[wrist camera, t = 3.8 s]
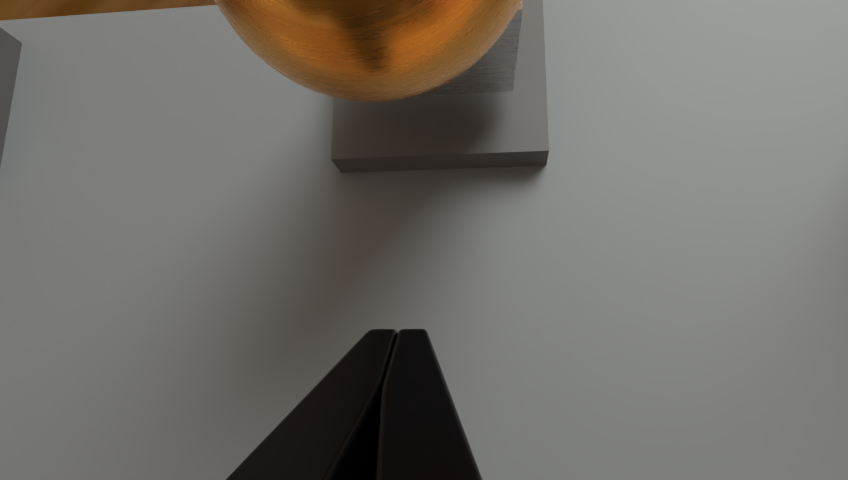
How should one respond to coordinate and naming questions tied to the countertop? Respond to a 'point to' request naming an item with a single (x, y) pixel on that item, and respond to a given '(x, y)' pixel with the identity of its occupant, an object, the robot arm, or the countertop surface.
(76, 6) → the countertop surface
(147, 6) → the countertop surface
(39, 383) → the switch panel
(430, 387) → the robot arm
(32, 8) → the countertop surface
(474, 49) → the orange lever
